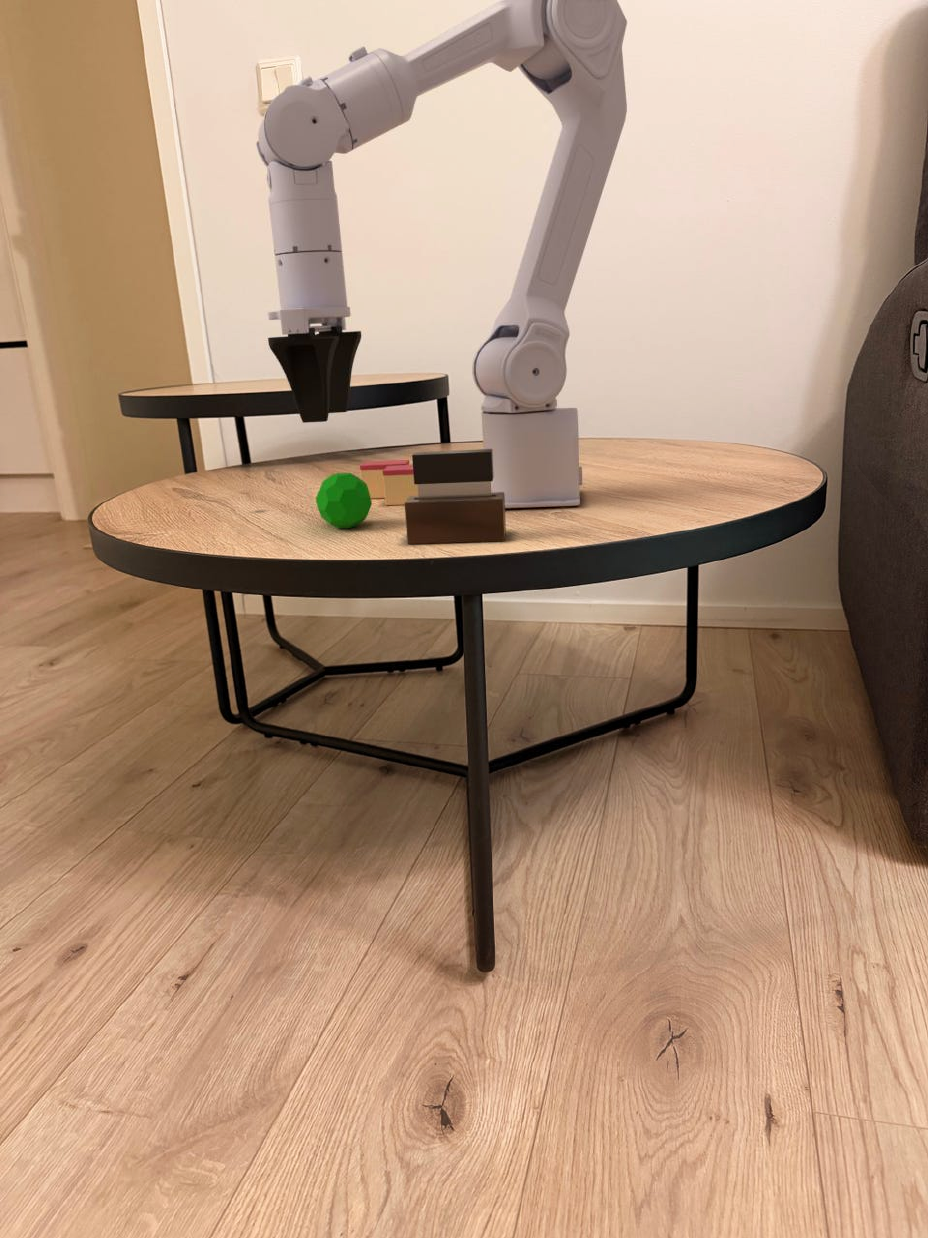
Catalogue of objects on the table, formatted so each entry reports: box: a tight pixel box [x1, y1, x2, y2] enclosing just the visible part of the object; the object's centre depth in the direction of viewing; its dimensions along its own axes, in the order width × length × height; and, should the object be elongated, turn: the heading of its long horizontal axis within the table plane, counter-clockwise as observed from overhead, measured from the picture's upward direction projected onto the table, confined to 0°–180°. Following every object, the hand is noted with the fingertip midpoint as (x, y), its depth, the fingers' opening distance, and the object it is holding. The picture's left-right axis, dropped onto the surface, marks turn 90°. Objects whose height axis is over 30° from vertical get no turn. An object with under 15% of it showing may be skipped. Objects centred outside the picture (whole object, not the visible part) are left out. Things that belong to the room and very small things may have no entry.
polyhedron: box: [315, 472, 373, 529], centre depth 83 cm, size 5×5×5 cm
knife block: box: [404, 492, 507, 545], centre depth 76 cm, size 8×3×4 cm, turn 85°
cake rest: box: [383, 464, 418, 506], centre depth 93 cm, size 6×3×4 cm, turn 85°
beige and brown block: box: [411, 448, 494, 499], centre depth 75 cm, size 6×2×7 cm, turn 85°
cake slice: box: [359, 459, 410, 499], centre depth 97 cm, size 5×3×4 cm, turn 85°
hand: (325, 416), depth 82 cm, fingers open, 7 cm apart
